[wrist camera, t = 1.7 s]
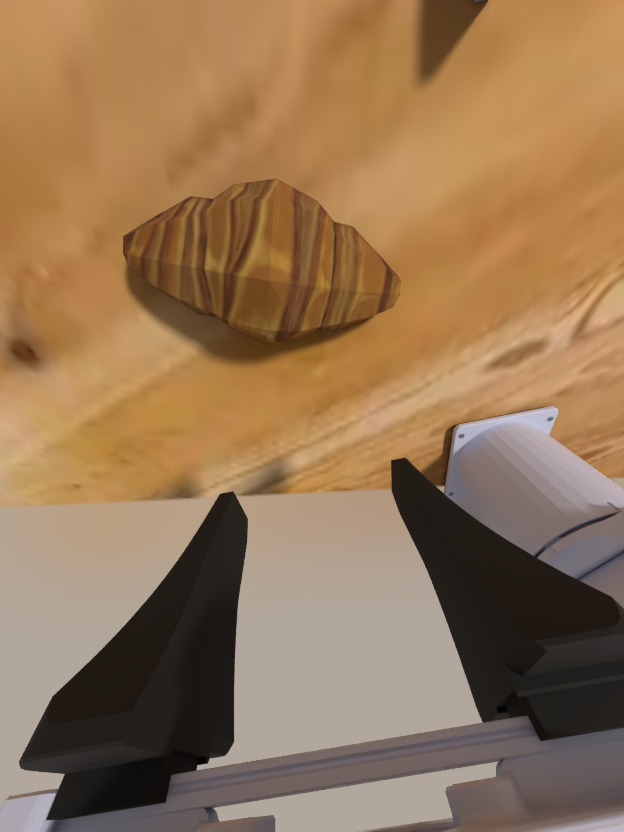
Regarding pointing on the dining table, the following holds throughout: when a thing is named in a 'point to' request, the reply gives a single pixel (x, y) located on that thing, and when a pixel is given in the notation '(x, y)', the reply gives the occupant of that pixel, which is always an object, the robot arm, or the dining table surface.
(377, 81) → the dining table surface
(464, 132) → the dining table surface
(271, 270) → the croissant
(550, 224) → the dining table surface
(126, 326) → the dining table surface
